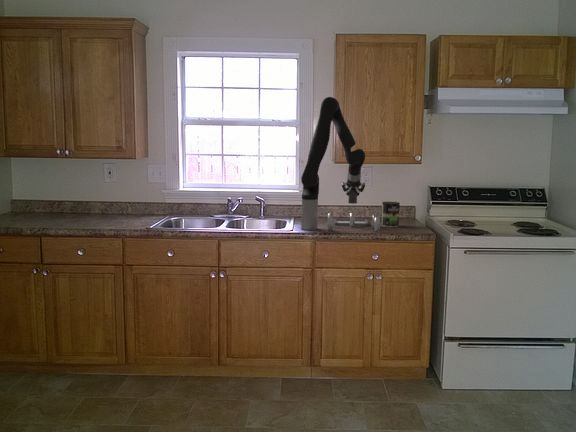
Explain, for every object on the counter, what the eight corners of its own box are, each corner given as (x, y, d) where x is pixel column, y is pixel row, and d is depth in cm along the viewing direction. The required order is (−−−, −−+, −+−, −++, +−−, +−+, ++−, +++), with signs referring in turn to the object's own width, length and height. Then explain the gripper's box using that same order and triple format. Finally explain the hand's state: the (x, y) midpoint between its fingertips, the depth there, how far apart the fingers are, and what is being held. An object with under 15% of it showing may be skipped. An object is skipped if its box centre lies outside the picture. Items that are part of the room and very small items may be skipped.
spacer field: (327, 231, 308) (328, 217, 306) (327, 225, 325) (327, 212, 324) (379, 232, 306) (380, 217, 305) (376, 226, 324) (377, 213, 322)
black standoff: (348, 203, 325) (349, 186, 324) (348, 202, 330) (348, 185, 328) (357, 203, 325) (357, 186, 323) (356, 202, 330) (357, 185, 328)
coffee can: (401, 227, 324) (402, 203, 322) (385, 227, 322) (386, 203, 319) (394, 224, 334) (395, 201, 332) (378, 224, 331) (379, 201, 329)
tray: (335, 225, 327) (335, 222, 326) (334, 220, 344) (334, 218, 344) (368, 226, 325) (368, 223, 325) (366, 221, 343) (366, 219, 343)
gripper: (366, 171, 317) (364, 190, 330) (341, 171, 318) (340, 189, 332) (366, 181, 312) (364, 200, 326) (341, 181, 314) (340, 199, 327)
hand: (352, 194), depth 329 cm, fingers closed on black standoff, 5 cm apart
